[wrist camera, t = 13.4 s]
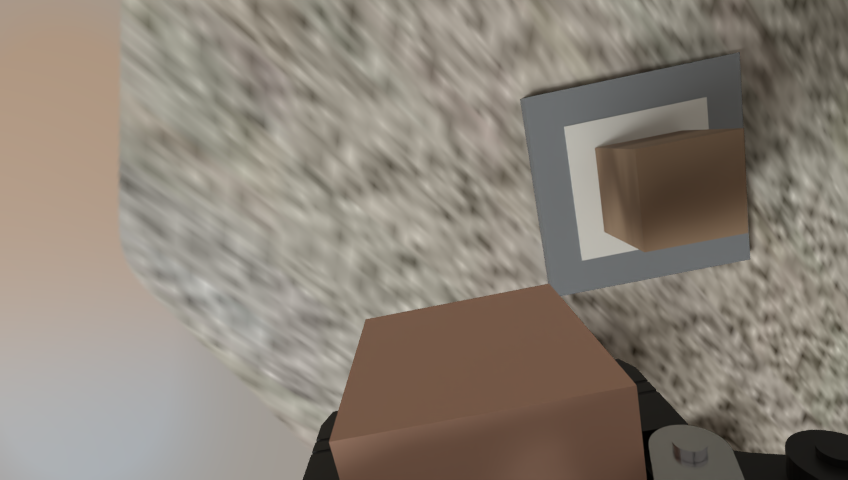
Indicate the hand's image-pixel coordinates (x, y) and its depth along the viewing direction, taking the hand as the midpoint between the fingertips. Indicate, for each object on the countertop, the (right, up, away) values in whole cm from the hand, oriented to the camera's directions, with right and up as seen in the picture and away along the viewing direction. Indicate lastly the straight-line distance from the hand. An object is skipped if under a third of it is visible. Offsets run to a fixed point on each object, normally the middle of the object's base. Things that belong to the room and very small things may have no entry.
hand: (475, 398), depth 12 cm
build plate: (+11, +8, +15) cm, 21 cm away
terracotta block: (0, 0, +1) cm, 1 cm away
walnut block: (+11, +8, +14) cm, 20 cm away
